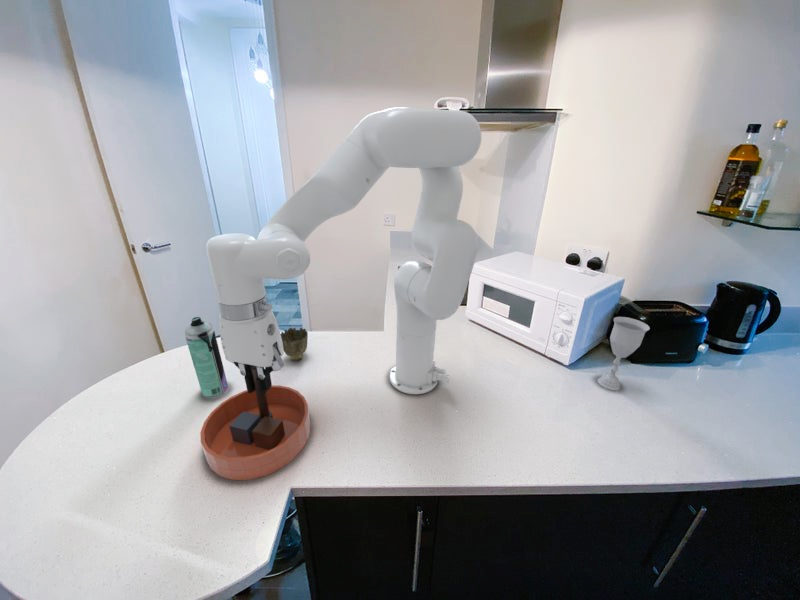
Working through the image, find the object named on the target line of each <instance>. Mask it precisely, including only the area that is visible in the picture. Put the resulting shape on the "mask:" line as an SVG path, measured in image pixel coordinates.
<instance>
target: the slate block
mask: <svg viewBox="0 0 800 600" xmlns="http://www.w3.org/2000/svg"><path fill="white" fill-rule="evenodd" d="M260 421H261V417H260V415H257V414H252V413H248V412H244V411H243V412H242V413H241V414H240V415H239V416H238V417H237V418H236V419H235V421H234V422H233V423H232V424H231V425H230V426H229V427H230V430H231V434H232V438H233V441H236V442H240V443H244V444H248V445H251V444H252V443H253V442H254V438H253V434H252V431H253V429H254V428H255V427H256V426H257V425H258V424H259V422H260Z"/></svg>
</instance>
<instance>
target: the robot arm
mask: <svg viewBox="0 0 800 600" xmlns="http://www.w3.org/2000/svg"><path fill="white" fill-rule="evenodd" d="M481 143H482V129H481V126H480V123H479V122H478V120H477V119H476V118H475V116H474V115H472V114H471V113H470V112H467V111H464V110H460V109H459V110H458V109H432V108H431V109H430V108H417V107H416V108H415V107H391V108H387V109H383V110H379V111H375V112H372V113H369V114H368V115H366V116H365V117H363V118H362V119H361V120H360V121H359V122H358V123H357V124H356V126H355V127H354V128H353V129H352V131H351V132H350V133H349V134H348V135H347V136H346V137H345V138H344V140H343V141H342V142H341V144H340V145H339V146H338V147H337V148H336V149H335V150H334V152H333V153H332V154H331V155H330V156H329V158H327V160H326V161H325V162H324V163H323V164H322V166H321V167H320V168H319V169H318V170H317V171H316V172H315V173H314V174H313V175H312V176H311V177H310V178H309V179H308V180H307V181H305V182H304V183H303V184H302V186H301V187H300V188H298V189H297V190H296V191H295V192H294V193H293V194H292V195H290V196H289V198H288V199H286V201H285V202H284V203H283V204H281V206H280V207H279V208H278V209H277V211H275V212H274V214H273V215H272V216H271V217H270V218H269V220H268V221H267V222H266V224H265V225H264V226H263V227H262V229H261V230H260V231H259V233H258V236H257V238H255V237H254V236H252V235H250V234H246V233H225V234H218V235H216V236H213V237H210V238H209V239H208V240H207V242H206V245H205V249H206V255H207V259H208V264H209V268H210V273H211V277H212V282H213V286H214V289H215V294H216V295H215V296H216V299H217V304H218V308H219V312H220V313H219V319H218V326H219V337H220V341H221V342H220V344H221V347H222V352H223V354H224V357H225V360H226V361H228V362H230V363H232V364H233V365H234V366H235V367H237V369H238V370H239V372H240V375H241V376H243V377H244V382H245V386H246V390H247V391H248V393H252V392H253V391H254V390H255V387H254V382H253V377H252V372H251V366H252V365H254V366H256V367H257V372H258V378H257V379H256V381H257V386H258V392H259V395H261V396H263V395H264V394H265V393H266V392H267V391H268V390H269V389H270V388H271V386H272V385H273V384H272V377H271V373H272V372H277V371H281V370H282V369H284V367H285V366H286V363H285V362H284V360H283V358H282V357H283V355H284V354H285V352H284V349H283V343H282V338H281V330H280V326H279V324H278V321H277V319H276V316H275V314H274V311H273V304H272V303H269V302H268V300H267V294H266V287H265V282H264V281H265V280H292V279H295V278H298V277H300V276H302V275H303V274H305V273H306V271H307V270H308V269H309V267H310V264H311V253H310V250H309V248H308V246H307V245H306V244H305V241H306V240H307V239H308V238H309V236H311V234H312V233H313V232H314V231H315V230H316V229H317V228H319V226H321V225H322V224H323V223H325V222H326V221H328V220H330V219H332V218H335V217H338V216H341V215H343V214H346V213H348V212H351V211H352V210H353V209H355V208H356V207H357V206H358V205H359V204H360V202H361V201H362V200H363V199H364V198H365V196H366V195H367V194H368V193H369V191H370V190H371V189H372V188H373V187H374V186H375V184H376V183H377V182H378V181H379V179H381V178H382V177H383V175H384V174H385V173H386V171H387V170H388V169H389V168H400V169H401V168H403V169H405V168H406V169H418V170H419V172H420V175H421V192H420V196H419V197H420V198H419V203H418V206H417V210H416V214H415V218H414V221H413V225H412V230H411V235H410V245H411V247H412V249H413V250H414V251H415V252H416V253H417V254H418V255H420V256H421V257H424V258H426V259H428V261H429V260H430V261H431V262H432V263H431V264H429V263H427V262H425V261H423V260H416V259H414V260H409V261H405V262H404V263H403V264H402V265H400V266H399V267H398V269H397V271H396V273H395V275H394V281H393V288H394V289H393V290H394V297H395V304H396V335H395V336H396V338H395V339H396V340H395V365H394V366H393V367H392V368H391V370H390V371H389V382H390V384H391V385H392V387H393V388H394V389H396V390H397V391H399V392H401V393H405V394H408V395H421V394H426V393H429V392H430V391H432V390H433V389H435V387H436V386H437V384H438V381H439V382H443V383H450V378H451V375H450V374H446V373H447V369H445V368H438V367H437V366H436V361H435V360H434V356H435V346H436V345H435V344H436V333H437V325H438V323H437V321H444V320H447V319H449V318H451V317H452V316H454V314H455V313H457V312H458V310H459V308H460V306H461V304H462V302H463V300H464V297H465V294H466V291H467V287H468V284H469V281H470V278H471V275H472V272H473V270H474V265H475V262H476V259H477V256H478V250H479V240H478V239H479V237H478V234H477V232H476V230H475V229H474V227H473V226H472V225H471V224H470V223H468V222H466V221H464V220H461V219H459V218H458V217H459V211H460V207H461V202H462V198H463V192H464V182H463V175H462V172H461V169H460V167H462V166H464V165H467V164H468V163H469V162H471V161H472V160H473V159H474V158H475V157H476V156H477V154H478V152H479V150H480V146H481Z"/></svg>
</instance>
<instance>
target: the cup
mask: <svg viewBox="0 0 800 600" xmlns="http://www.w3.org/2000/svg"><path fill="white" fill-rule="evenodd" d="M280 334H281V338H282V343H283V349H284V354H285V355H287V356H288V357H289V359H290V360H291V361H295V362H297V361H299V360H301V359H303V356H304V354H305V352H306V350H307V348H308V331H307V329H306V328H302V327H300V328H299V329H296V327H294V328H292V327H289V328H288V330H287V329H284V331H280Z"/></svg>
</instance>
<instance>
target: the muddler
mask: <svg viewBox="0 0 800 600" xmlns="http://www.w3.org/2000/svg"><path fill="white" fill-rule="evenodd" d="M251 372H252V377H253V382H254V387H255V392H256V397H257V402H258V407H259V412H260V413H259V415H260V417H261V420H262V419H263V418H264V417H265V416H266V417H271V418H273V415H272V412H271V411H269V408H268V402H267V397H266V393H265V394H264V395H263V396H261V395H259V392H258V386H257V381H256V379H257V378H258V372H257V367H256V366H254V365H252V366H251Z"/></svg>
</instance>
